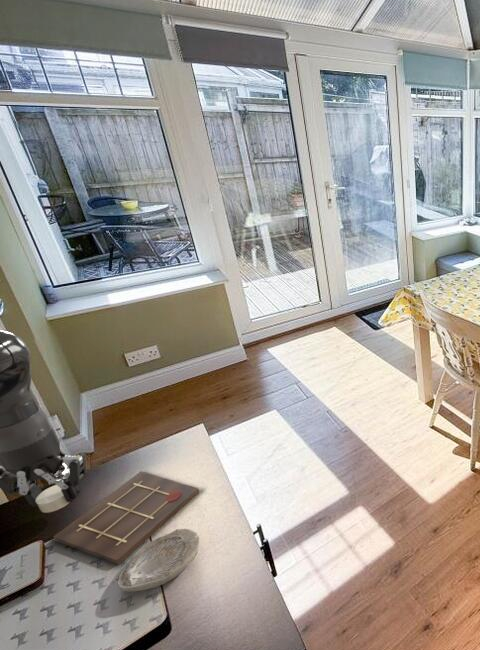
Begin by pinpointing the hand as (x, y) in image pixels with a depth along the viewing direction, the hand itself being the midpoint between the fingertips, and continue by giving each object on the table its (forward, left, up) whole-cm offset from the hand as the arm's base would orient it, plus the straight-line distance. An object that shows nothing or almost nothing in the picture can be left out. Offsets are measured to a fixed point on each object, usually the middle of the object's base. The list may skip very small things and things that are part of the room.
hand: (56, 500), depth 82 cm
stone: (0, 0, 0) cm, 0 cm away
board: (+13, +4, -4) cm, 14 cm away
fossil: (+29, -2, -4) cm, 30 cm away
